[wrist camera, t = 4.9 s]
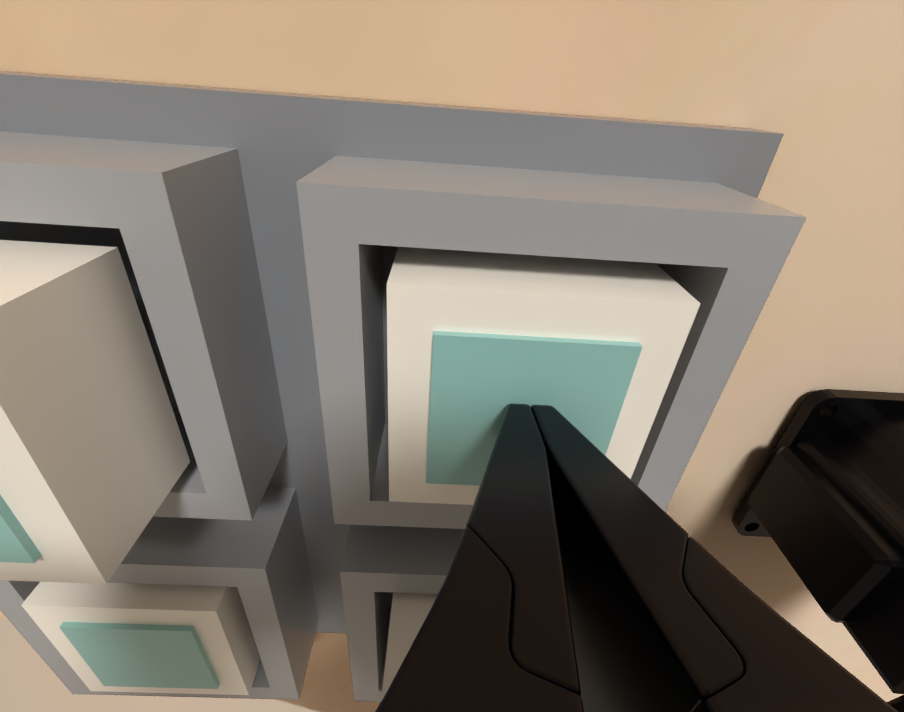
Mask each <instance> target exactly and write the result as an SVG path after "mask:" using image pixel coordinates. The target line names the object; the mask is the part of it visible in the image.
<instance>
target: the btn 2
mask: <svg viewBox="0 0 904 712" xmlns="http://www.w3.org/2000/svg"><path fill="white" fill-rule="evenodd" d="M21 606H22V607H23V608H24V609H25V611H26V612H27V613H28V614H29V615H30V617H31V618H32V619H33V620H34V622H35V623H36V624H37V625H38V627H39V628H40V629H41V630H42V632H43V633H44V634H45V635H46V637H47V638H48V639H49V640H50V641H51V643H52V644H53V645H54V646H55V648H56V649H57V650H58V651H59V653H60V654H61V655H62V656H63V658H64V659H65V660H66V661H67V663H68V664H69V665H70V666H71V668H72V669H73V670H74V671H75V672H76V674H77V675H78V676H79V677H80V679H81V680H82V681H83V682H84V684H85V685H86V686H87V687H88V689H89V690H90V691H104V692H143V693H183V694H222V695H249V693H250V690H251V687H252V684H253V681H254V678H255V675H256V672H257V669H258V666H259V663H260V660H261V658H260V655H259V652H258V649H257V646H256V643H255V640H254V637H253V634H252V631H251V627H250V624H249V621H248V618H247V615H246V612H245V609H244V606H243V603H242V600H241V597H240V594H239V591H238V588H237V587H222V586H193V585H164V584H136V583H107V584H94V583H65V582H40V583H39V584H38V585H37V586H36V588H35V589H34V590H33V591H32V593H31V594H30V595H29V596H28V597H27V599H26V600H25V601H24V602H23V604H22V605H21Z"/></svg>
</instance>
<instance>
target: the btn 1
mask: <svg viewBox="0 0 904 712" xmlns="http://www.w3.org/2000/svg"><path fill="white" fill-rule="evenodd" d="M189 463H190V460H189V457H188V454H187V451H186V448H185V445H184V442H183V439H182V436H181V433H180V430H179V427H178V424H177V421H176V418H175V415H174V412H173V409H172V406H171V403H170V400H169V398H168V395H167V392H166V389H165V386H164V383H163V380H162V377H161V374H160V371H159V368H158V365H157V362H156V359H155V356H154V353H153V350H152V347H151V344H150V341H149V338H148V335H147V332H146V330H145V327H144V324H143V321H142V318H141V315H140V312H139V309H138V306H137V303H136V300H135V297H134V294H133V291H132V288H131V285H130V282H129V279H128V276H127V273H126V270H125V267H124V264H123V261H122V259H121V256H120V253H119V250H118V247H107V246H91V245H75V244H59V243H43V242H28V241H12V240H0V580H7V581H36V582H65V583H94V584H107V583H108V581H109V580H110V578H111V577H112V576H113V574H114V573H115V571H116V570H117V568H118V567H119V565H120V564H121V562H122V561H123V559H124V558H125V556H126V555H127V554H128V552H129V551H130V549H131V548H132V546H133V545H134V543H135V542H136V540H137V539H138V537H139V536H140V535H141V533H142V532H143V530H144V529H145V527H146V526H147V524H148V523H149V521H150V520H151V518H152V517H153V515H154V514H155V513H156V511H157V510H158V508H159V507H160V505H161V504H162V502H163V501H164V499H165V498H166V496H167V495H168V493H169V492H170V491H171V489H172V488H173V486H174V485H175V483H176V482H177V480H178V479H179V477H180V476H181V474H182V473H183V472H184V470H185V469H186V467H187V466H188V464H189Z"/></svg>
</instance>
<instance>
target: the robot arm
mask: <svg viewBox="0 0 904 712" xmlns="http://www.w3.org/2000/svg"><path fill="white" fill-rule="evenodd" d="M732 523H733V525H734V526H735V528H736V530H737V531H738V533H740V534H741V535H745V536H764V537H772V539H773V540H774V541H775V543H776V544H777V546H778V547H779V548H780V550H781V551H782V553H783V554H784V556H785V557H786V558H787V560H788V561H789V563H790V564H791V566H792V567H793V568H794V570H795V571H796V573H797V574H798V575H799V577H800V578H801V580H802V581H803V583H804V584H805V585H806V587H807V588H808V590H809V591H810V593H811V594H812V595H813V597H814V598H815V600H816V601H817V602H818V604H819V605H820V607H821V608H822V610H823V611H824V612H825V614H826V615H827V616H828V617H829V618H830V619H831V620H832V621H835V622H840V623H843V624H844V626H845V627H846V629H847V630H848V631H849V633H850V634H851V635H852V637H853V638H854V640H855V641H856V642H857V644H858V645H859V647H860V648H861V649H862V651H863V652H864V653H865V655H866V656H867V658H868V659H869V660H870V662H871V663H872V665H873V666H874V667H875V669H876V670H877V671H878V673H879V674H880V676H881V677H882V678H883V680H884V681H885V683H886V684H887V685H888V687H889V688H890V689H891V691H892V692H893V693H897V694H904V393H887V392H869V391H850V390H832V389H825V390H819V391H817V392H814V393H812V394H811V395H810V396H808V397H807V398H806V399H805V401H804V402H803V403H802V405H801V407H800V408H799V410H798V412H797V413H796V415H795V417H794V418H793V420H792V421H791V423H790V425H789V426H788V428H787V430H786V431H785V433H784V435H783V436H782V438H781V439H780V441H779V443H778V444H777V446H776V448H775V449H774V451H773V453H772V454H771V456H770V457H769V459H768V461H767V462H766V464H765V466H764V467H763V469H762V471H761V472H760V474H759V475H758V477H757V479H756V480H755V482H754V484H753V485H752V487H751V489H750V490H749V492H748V493H747V495H746V497H745V498H744V500H743V502H742V503H741V505H740V507H739V508H738V510H737V511H736V513H735V515H734V516H733V518H732ZM375 712H904V695H902V696H900V697H898V698H896V699H893V700H891V701H889V702H887V703H886V702H885V701H884V700H883V699H882V698H880V697H879V696H878V695H877V694H875V693H874V692H873V691H872V690H871V689H869V688H868V687H867V686H866V685H864V684H863V683H862V682H861V681H860V680H858V679H857V678H856V677H855V676H853V675H852V674H851V673H850V672H849V671H847V670H846V669H845V668H844V667H842V666H841V665H840V664H839V663H838V662H836V661H835V660H834V659H833V658H831V657H830V656H829V655H828V654H827V653H825V652H824V651H823V650H822V649H821V648H819V647H818V646H817V645H816V644H814V643H813V642H812V641H811V640H810V639H808V638H807V637H806V636H805V635H803V634H802V633H801V632H800V631H799V630H797V629H796V628H795V627H794V626H792V625H791V624H790V623H789V622H788V621H786V620H785V619H784V618H783V617H781V616H780V615H779V614H778V613H777V612H776V611H774V610H773V609H772V608H771V607H770V606H768V605H767V604H766V603H765V602H764V601H763V600H761V599H760V598H759V597H758V596H757V595H755V594H754V593H753V592H752V591H751V590H750V589H748V588H747V587H746V586H745V585H744V584H743V583H741V582H740V581H739V580H738V579H737V578H736V577H735V576H734V575H733V574H732V573H730V572H729V571H728V570H727V569H726V568H725V567H724V566H723V565H722V564H720V563H719V562H718V561H717V560H716V559H715V558H714V557H713V556H712V555H711V554H710V553H708V552H707V551H706V550H705V549H704V548H703V547H702V546H701V545H700V544H699V543H698V542H697V541H696V540H695V539H694V538H692V537H689V538H688V533H687V532H686V531H685V530H684V529H683V528H682V527H681V526H680V525H678V524H677V523H676V522H675V521H674V520H673V519H672V518H671V517H670V516H669V515H668V514H667V513H666V512H665V511H664V510H663V509H662V508H660V507H659V506H658V505H657V504H656V503H655V502H654V501H653V500H652V499H651V498H650V497H649V496H648V495H647V494H646V493H645V492H643V491H642V490H641V489H640V488H639V487H638V486H637V485H636V484H635V483H634V482H633V481H632V480H631V479H630V478H629V477H628V476H626V475H625V474H624V473H623V472H622V471H621V470H620V469H619V468H618V467H617V466H616V465H615V464H614V463H613V462H612V461H611V460H609V459H608V458H607V457H606V456H605V455H604V454H603V453H602V452H601V451H600V450H599V449H598V448H597V447H596V446H595V445H594V444H593V443H591V442H590V441H589V440H588V439H587V438H586V437H585V436H584V435H583V434H582V433H581V432H580V431H579V430H578V429H577V428H576V427H574V426H573V425H572V424H571V423H570V422H569V421H568V420H567V419H566V418H565V417H564V416H563V415H562V414H561V413H560V412H559V411H557V410H556V409H555V408H554V407H553V406H550V405H532V406H531V407H530V406H529V405H528V404H515V403H510V404H509V405H508V406H507V409H506V412H505V415H504V418H503V421H502V423H501V426H500V429H499V432H498V435H497V438H496V441H495V444H494V446H493V449H492V452H491V455H490V458H489V461H488V464H487V467H486V469H485V472H484V475H483V478H482V481H481V484H480V487H479V490H478V492H477V495H476V498H475V501H474V504H473V507H472V510H471V513H470V515H469V518H468V521H467V524H466V528H465V529H464V532H463V535H462V538H461V540H460V543H459V546H458V549H457V552H456V554H455V557H454V559H453V562H452V564H451V567H450V569H449V572H448V574H447V577H446V579H445V581H444V583H443V585H442V587H441V589H440V591H439V593H438V595H437V597H436V599H435V601H434V603H433V605H432V607H431V609H430V611H429V613H428V615H427V617H426V619H425V621H424V623H423V624H422V626H421V628H420V630H419V632H418V634H417V636H416V638H415V639H414V641H413V643H412V645H411V647H410V649H409V651H408V653H407V655H406V656H405V658H404V660H403V662H402V664H401V666H400V668H399V670H398V671H397V673H396V675H395V677H394V679H393V681H392V683H391V685H390V687H389V688H388V690H387V692H386V694H385V696H384V698H383V699H382V701H381V703H380V705H379V706H378V708H377V710H376V711H375Z"/></svg>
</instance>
